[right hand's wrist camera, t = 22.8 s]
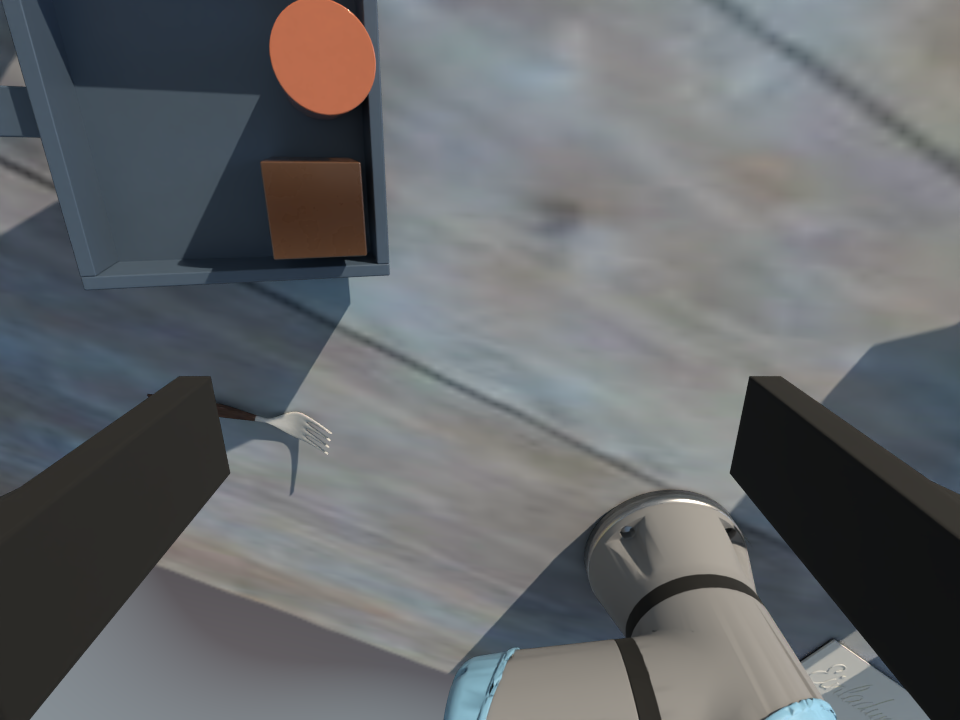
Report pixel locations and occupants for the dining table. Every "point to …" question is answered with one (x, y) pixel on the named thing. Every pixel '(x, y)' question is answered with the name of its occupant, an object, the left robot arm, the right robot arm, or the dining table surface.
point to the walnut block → (314, 207)
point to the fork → (279, 423)
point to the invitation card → (858, 687)
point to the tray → (179, 137)
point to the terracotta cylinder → (322, 58)
